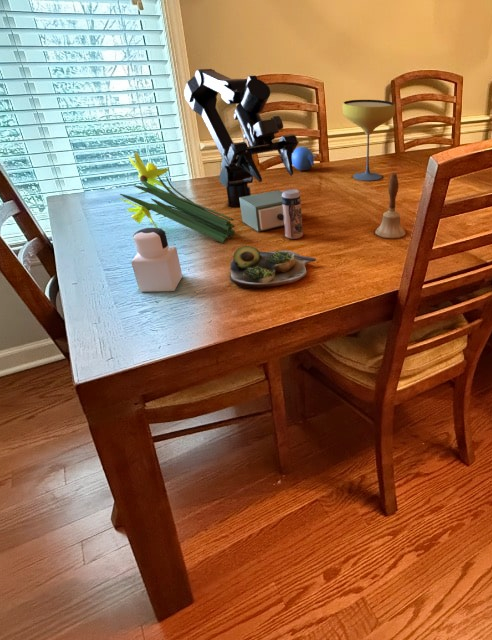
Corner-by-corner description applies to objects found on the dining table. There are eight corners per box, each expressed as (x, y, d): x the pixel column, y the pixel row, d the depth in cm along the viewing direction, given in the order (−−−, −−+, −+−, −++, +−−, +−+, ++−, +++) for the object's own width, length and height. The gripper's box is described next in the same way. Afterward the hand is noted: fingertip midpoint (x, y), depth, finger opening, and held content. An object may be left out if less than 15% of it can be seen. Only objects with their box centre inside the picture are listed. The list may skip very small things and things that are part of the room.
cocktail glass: (392, 184, 166) (396, 107, 152) (341, 183, 166) (340, 106, 152) (391, 171, 181) (394, 100, 167) (344, 170, 181) (344, 98, 167)
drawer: (300, 222, 130) (299, 204, 127) (264, 231, 124) (262, 212, 121) (282, 212, 136) (281, 195, 133) (247, 220, 130) (245, 202, 128)
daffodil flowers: (203, 258, 113) (86, 202, 118) (230, 264, 127) (126, 214, 132) (230, 193, 111) (111, 139, 116) (255, 208, 126) (148, 159, 130)
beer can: (296, 241, 121) (292, 195, 114) (281, 237, 122) (277, 192, 116) (306, 235, 124) (304, 190, 118) (292, 231, 126) (288, 187, 119)
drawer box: (298, 222, 132) (296, 198, 128) (258, 232, 126) (255, 207, 122) (280, 213, 138) (278, 189, 135) (242, 221, 132) (239, 197, 128)
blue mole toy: (328, 169, 181) (327, 146, 176) (304, 175, 174) (303, 151, 169) (308, 163, 188) (307, 141, 183) (284, 168, 181) (282, 146, 176)
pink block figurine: (149, 276, 102) (135, 224, 96) (183, 276, 103) (171, 224, 96) (139, 292, 96) (123, 237, 90) (174, 291, 97) (161, 237, 90)
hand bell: (408, 229, 129) (413, 171, 120) (400, 240, 122) (404, 179, 114) (380, 225, 131) (382, 167, 122) (371, 236, 124) (372, 175, 116)
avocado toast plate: (312, 252, 115) (311, 234, 113) (322, 285, 101) (321, 265, 98) (231, 258, 111) (228, 240, 109) (230, 293, 97) (227, 273, 94)
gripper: (225, 109, 111) (252, 168, 110) (292, 101, 120) (317, 155, 120) (216, 136, 120) (241, 190, 120) (280, 127, 130) (303, 177, 129)
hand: (276, 178), depth 122 cm, fingers open, 9 cm apart
